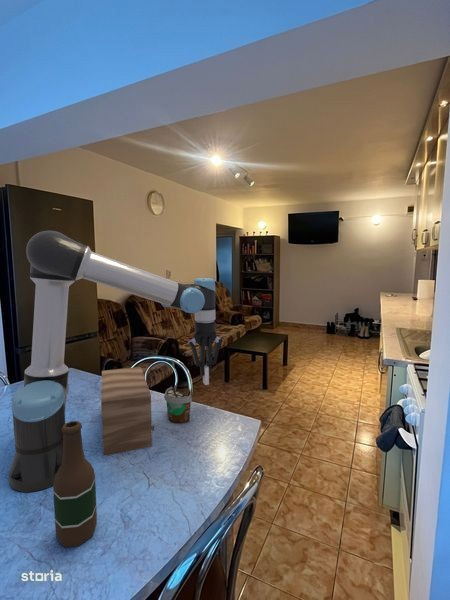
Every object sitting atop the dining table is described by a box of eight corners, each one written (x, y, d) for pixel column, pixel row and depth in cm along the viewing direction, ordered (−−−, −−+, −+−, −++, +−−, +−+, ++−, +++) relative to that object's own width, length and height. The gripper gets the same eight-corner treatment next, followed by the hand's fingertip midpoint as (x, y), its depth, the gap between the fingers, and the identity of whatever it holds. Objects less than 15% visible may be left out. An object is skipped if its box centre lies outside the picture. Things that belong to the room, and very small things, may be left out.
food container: (157, 416, 115) (157, 390, 114) (171, 411, 119) (171, 386, 118) (178, 429, 106) (177, 401, 105) (192, 422, 111) (191, 395, 109)
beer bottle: (99, 538, 64) (95, 428, 61) (56, 556, 60) (49, 438, 57) (94, 512, 70) (90, 411, 68) (55, 526, 67) (49, 420, 64)
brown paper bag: (151, 446, 96) (150, 395, 94) (103, 456, 91) (101, 402, 89) (141, 407, 122) (140, 366, 120) (103, 413, 117) (101, 370, 115)
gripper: (218, 317, 118) (218, 377, 121) (185, 320, 114) (186, 382, 117) (225, 321, 112) (225, 384, 114) (190, 324, 107) (191, 389, 110)
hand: (205, 383), depth 116 cm, fingers closed
